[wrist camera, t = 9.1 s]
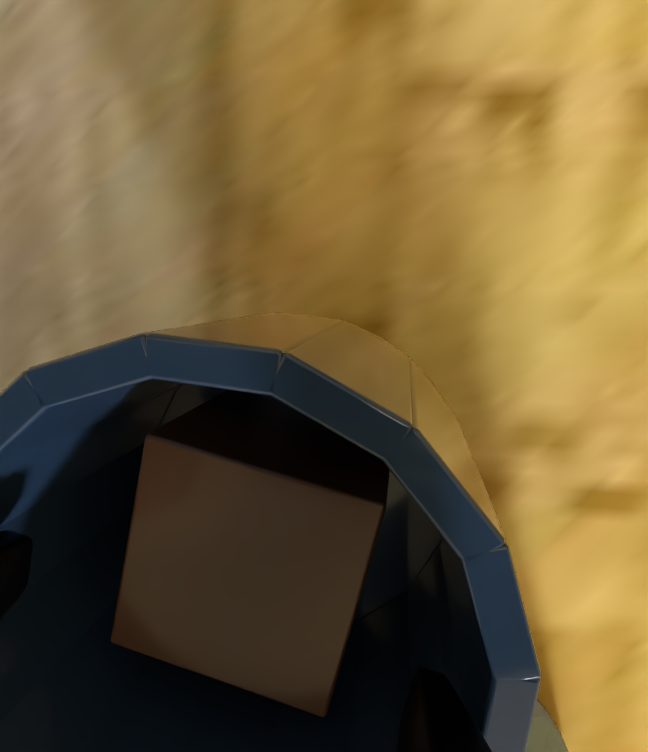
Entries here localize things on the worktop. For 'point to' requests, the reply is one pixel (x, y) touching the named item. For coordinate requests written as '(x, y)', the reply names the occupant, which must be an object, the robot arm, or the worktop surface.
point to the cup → (382, 585)
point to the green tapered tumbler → (544, 733)
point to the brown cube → (250, 548)
